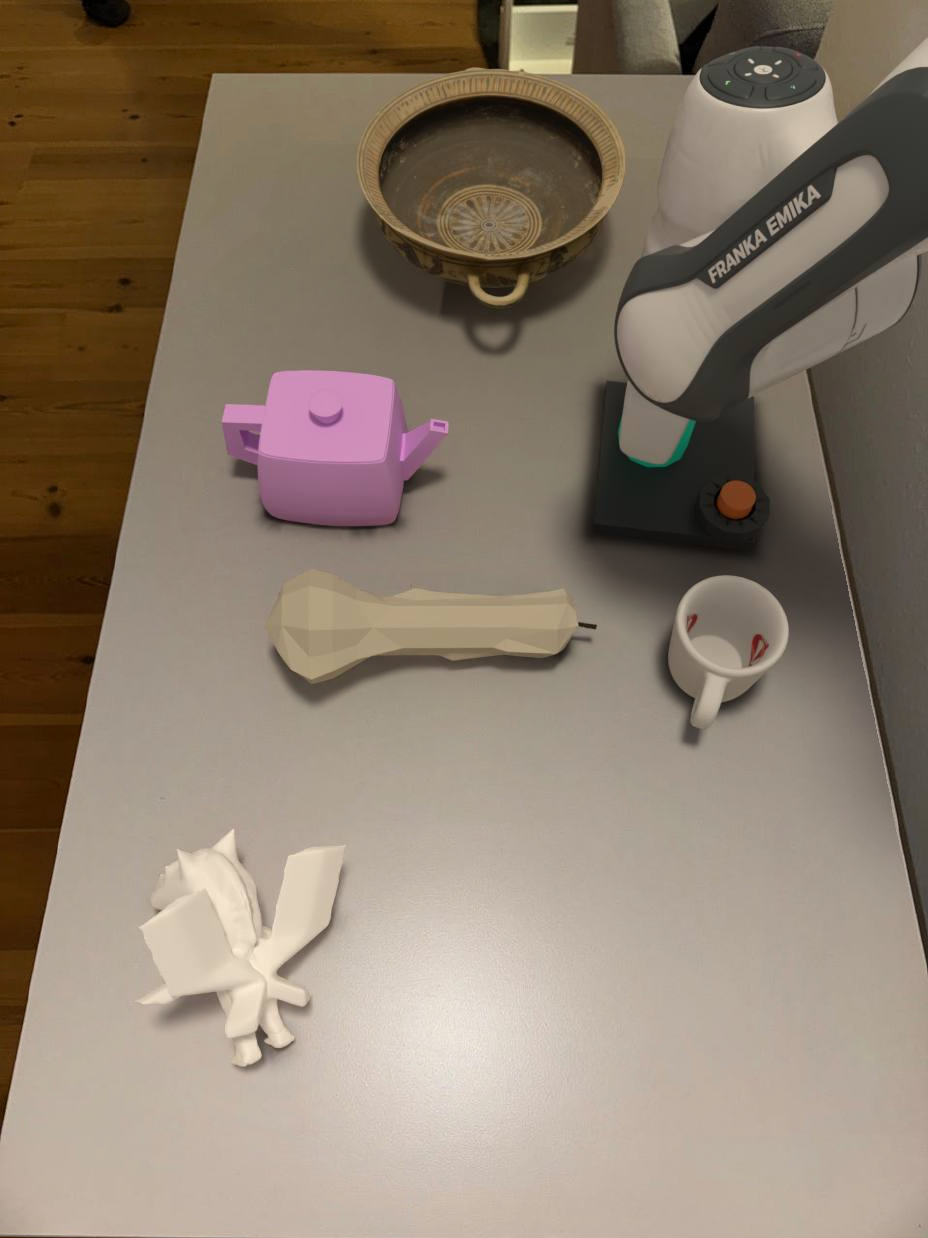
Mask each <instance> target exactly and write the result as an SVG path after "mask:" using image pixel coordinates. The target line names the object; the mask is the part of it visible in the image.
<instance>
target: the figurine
mask: <svg viewBox="0 0 928 1238" xmlns="http://www.w3.org/2000/svg"><path fill="white" fill-rule="evenodd" d="M346 848H347V844H343V845H322V846H321V845H319V846H310V847H307V848H304V849H302V850H301V851H299V852H296V853H293V854H289V855H288V856H287V859H286V862H285V863H286V864H285V866H284V869H283V873H284V875H283V879H282V883H281V888H280V889H279V895H278V899H277V902H276V906H275V914H274V915H275V916H274V920H273V922H272V923H273V924H272V926H271V928H270V927H268V926H265V925H263V918H262V912H261V908H260V904H259V900H258V892H257V885H256V883H255V881H254V878H253V877H252V874H251V873H250V872H249V871H248V870H247V868H245V867H244V866H243V864H242V863H241V862H240V861H239V858H238V854H237V853H238V852H237V843H236V834H235V828H232V829H231V830H230V831H229V832H228V833H227V834H225V835H224V836H223V837H222V838H221V839H219V840H218V841H217V842H216V843H215V844H213V845H212V846H211V847H209V848H208V847H207V848H199V849H198V850H194V851H192V853H191V852H188V851H186V850H183V849H180V848H176V855H177V860H175V861H173V862H171V863H169V864H167V865H165V866H164V873H159V877H158V881H157V884H156V887H155V888H154V890H153V891H152V893H151V895H150V896H149V903H150V906H151V907H152V908H153V909H155V910H157V911H159V910H160V911H159V912H157V914H156V915H154V916H153V917H152V918H150V919H149V920H148V921H146V922H145V923H143V924H142V925H139V926H138V930H140V931H141V932H142V934H143V939H144V942H145V944H146V946H147V947H148V949H149V951H150V953H151V956H152V961H153V963H154V965H155V966H156V968H157V971H158V974H160V977H161V978H162V979H163V983H161V984H160V985H159V986H157V987H156V988H153V989H152V990H151V991H149V992H147V993H146V994H143V995H142V996H140V997H138V998H137V999H135V1000H134V1001H133V1003H135V1004H140V1005H143V1006H153V1005H156V1006H157V1005H158V1006H163V1005H166V1004H169V1003H172V1002H174V1001H176V1000H177V999H179V998H180V997H183V996H191V995H199V994H207V993H212V992H213V993H216V995H217V998H218V1000H219V1003H220V1006H221V1007H222V1010H223V1013H224V1015H225V1018H226V1021H225V1024H224V1029H223V1031H224V1035H225V1038H227V1039H231V1040H232V1042H233V1044H234V1047H235V1049H236V1051H235V1054H234V1055H233V1056H231V1057H230V1058H229V1059H230V1060H229V1062H230V1064H231V1065H233V1066H234V1065H235V1066H238V1067H242V1068H243V1067H244V1068H245V1067H247V1066H248V1065H253V1064H255V1063H257V1062H258V1061H260V1060H261V1059H262V1055H263V1054H262V1051H261V1048H260V1046H259V1044H258V1040H257V1035H256V1032H257V1030H258V1029H259V1026H260V1028H261V1029H262V1030H263V1032H264V1033H265V1034H266V1035H267V1037H266V1038H265V1039H264V1040H263V1042H264V1043H265V1044H266V1045H268V1046H269V1045H270V1046H272V1047H273V1048H276V1049H282V1048H284V1047H286V1046H289V1044H291V1043H292V1042H293V1041H294V1040H295V1036H294V1034H292V1033H291V1032H290V1030H289V1029H287V1027H286V1025H285V1023H284V1021H283V1019H282V1018H281V1015H280V1012H279V1011H280V1010H279V1008H278V1000H279V1001H282V1002H285V1003H288V1004H291V1005H294V1006H297V1007H305V1006H306V1005H307V1004H308V1002H309V1000H310V998H311V993H310V990H309V989H308V988H307V986H305V985H304V984H301V983H298V982H296V981H293V980H290V979H287V978H284V977H282V976H280V975H278V974H277V971H278V970H279V968H281V967H282V966H283V965H285V963H287V962H288V961H289V960H290V959H291V958H292V957H294V956H295V955H296V954H297V953H299V952H300V951H301V950H302V949H303V948H304V947H306V946H307V945H308V944H309V943H310V942H311V941H312V940H314V939H315V938H316V937H317V936H318V935H319V934H320V933H321V932H323V931H324V930H326V928H327V927H328V926H329V925H330V921H331V919H332V909H333V907H334V902H335V898H336V895H337V890H338V886H339V883H340V874H341V870H342V866H343V861H344V855H345V854H344V853H345V850H346Z"/></svg>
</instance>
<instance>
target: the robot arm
mask: <svg viewBox="0 0 928 1238" xmlns="http://www.w3.org/2000/svg"><path fill="white" fill-rule="evenodd" d="M656 197H657V203H658V208H657V210H656V211H655V213H654V215H653V216H652V217H651V220H650V222H649V224H648V227H647V230H646V234H645V238H644V243H643V246H642V250H641V251H642V252H641V256H640V258H638V259H637V261H636V262H635V263H634V264H633V266H632V267H631V270H630V272H629V274H628V276H627V279H626V281H625V283H624V286H623V289H622V291H621V293H620V297H619V300H618V304H617V308H616V312H615V317H614V325H613V336H614V344H615V350H616V354H617V357H618V360H619V363H620V366H621V368H622V371H623V373H624V375H625V376H626V378H627V382H626V383H627V388H626V393H625V400H624V407H623V415H622V422H621V431H620V442H619V444H620V449H621V451H622V452H623V453H624V454H626V455H628V456H630V457H632V458H635V459H638V460H641V461H644V462H648V463H652V464H664V463H666V462H668V461H669V459H670V458H671V456H672V455H673V453H674V451H675V449H676V447H677V445H678V443H679V441H680V439H681V437H682V435H683V433H684V431H685V429H686V427H687V425H688V423H689V421H690V420H694V421H697V422H702V423H707V422H711V421H713V420H715V419H717V418H718V417H720V416H722V415H724V414H725V413H727V412H729V411H730V410H732V409H734V408H736V407H737V406H739V405H741V404H742V403H744V402H745V401H746V400H747V399H748V398H750V397H752V396H753V397H755V396H756V395H758V394H760V393H762V392H765V391H766V390H768V389H770V388H773V387H775V386H776V385H778V384H780V383H783V382H784V381H787V380H788V379H791V378H792V377H795V376H796V375H799V374H801V373H802V372H805V371H806V370H809V369H811V368H813V367H815V366H817V365H820V364H821V363H823V362H825V361H827V360H829V359H832V357H834V356H837V355H838V354H841V353H843V352H845V351H847V350H849V349H851V348H853V347H855V346H858V345H859V344H862V343H863V342H865V341H867V340H869V339H871V338H874V337H875V336H877V335H878V334H880V333H882V332H884V331H885V330H888V329H890V328H892V327H894V326H896V325H897V324H898V323H900V322H901V320H902V319H903V318H904V317H905V316H906V314H907V313H908V311H909V310H910V308H911V306H912V304H913V301H914V300H915V298H916V295H917V292H918V289H919V285H920V281H921V276H922V269H923V267H922V266H923V254H924V253H926V252H928V36H927V37H926V38H925V39H923V41H922V42H920V44H919V45H918V46H917V47H916V48H914V50H912V51H911V52H910V53H909V54H908V55H907V56H906V58H904V59H902V61H901V62H900V63H899V64H898V65H897V66H896V67H894V69H893V70H892V71H891V72H890V73H889V74H888V75H887V76H886V77H885V78H884V79H883V80H882V81H881V82H880V83H879V84H877V86H876V87H875V88H874V89H873V90H872V91H871V92H870V93H869V94H868V95H867V96H866V97H865V98H864V99H863V100H862V101H861V102H860V103H859V104H857V106H855V107H854V108H853V109H852V110H851V111H850V112H849V113H848V114H847V115H845V117H842V119H841V120H840V121H838V118H837V113H836V108H835V101H834V93H833V86H832V82H831V79H830V77H829V75H828V73H827V71H826V69H825V68H824V67H823V65H822V64H820V63H819V62H818V61H816V60H815V59H813V58H812V57H810V56H809V55H806V54H804V53H802V52H799V51H798V50H795V49H791V48H787V47H783V46H782V47H781V46H765V45H764V46H759V45H756V46H755V45H754V46H751V47H746V48H742V49H738V50H735V51H733V52H730V53H727V54H723V55H721V56H719V57H717V58H715V59H713V60H711V61H709V62H708V63H706V64H703V66H702V67H700V69H698V70H697V72H696V73H695V75H694V76H693V78H692V79H691V81H690V83H689V84H688V86H687V88H686V90H685V91H684V93H683V96H682V98H681V99H680V102H679V105H678V107H677V110H676V113H675V116H674V118H673V122H672V124H671V127H670V131H669V134H668V138H667V141H666V145H665V149H664V152H663V157H662V162H661V166H660V171H659V175H658V179H657V186H656Z"/></svg>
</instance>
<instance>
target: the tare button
mask: <svg viewBox="0 0 928 1238" xmlns="http://www.w3.org/2000/svg"><path fill="white" fill-rule="evenodd" d="M755 500H756V495H755V492H754V490H753V488H752V487H751V486H750V485H748V484H747V483H745V482H742V481H730V482H728V483H726V484H725V485H724V486H723V487H722V489H721V492H720V494H719V496H718V499H717V507H718V510H719V511H720V512H721V514H723V515H724V516H725V517H727V518H730V519H742V518H744V517H746V516H747V515H748V514H749V513H750V511H751V509H752V507H753V505H754V503H755Z"/></svg>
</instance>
